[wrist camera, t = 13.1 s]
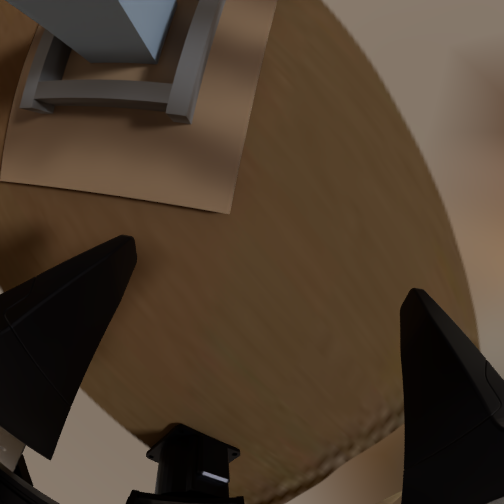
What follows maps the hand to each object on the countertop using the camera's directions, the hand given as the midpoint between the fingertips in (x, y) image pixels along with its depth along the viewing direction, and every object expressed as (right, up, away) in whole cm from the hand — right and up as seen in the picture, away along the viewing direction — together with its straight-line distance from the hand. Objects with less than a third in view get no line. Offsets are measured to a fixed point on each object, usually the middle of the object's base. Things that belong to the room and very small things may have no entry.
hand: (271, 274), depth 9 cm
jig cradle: (-8, +14, +5) cm, 17 cm away
